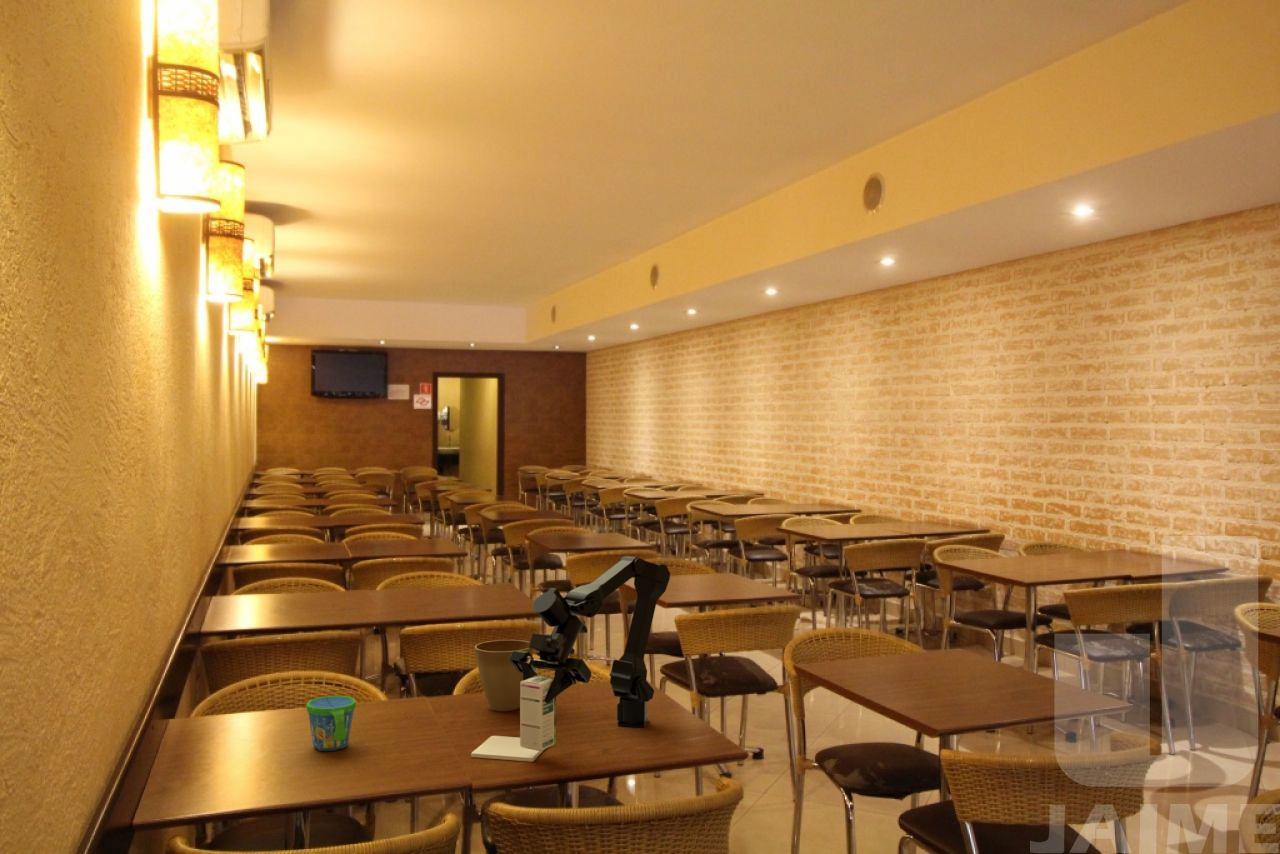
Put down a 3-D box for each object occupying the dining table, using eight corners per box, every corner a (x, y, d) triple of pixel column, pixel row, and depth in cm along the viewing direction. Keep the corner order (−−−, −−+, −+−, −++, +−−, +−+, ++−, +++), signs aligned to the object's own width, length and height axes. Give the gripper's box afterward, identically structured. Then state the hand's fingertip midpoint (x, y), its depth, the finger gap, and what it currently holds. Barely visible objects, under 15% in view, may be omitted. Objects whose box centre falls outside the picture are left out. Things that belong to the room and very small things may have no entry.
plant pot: (541, 701, 269) (541, 640, 269) (522, 717, 254) (522, 653, 254) (487, 698, 272) (487, 637, 272) (465, 713, 258) (465, 649, 258)
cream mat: (550, 743, 234) (550, 739, 234) (532, 761, 222) (532, 758, 221) (491, 739, 237) (491, 735, 237) (471, 756, 224) (471, 753, 224)
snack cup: (361, 754, 226) (361, 707, 226) (311, 760, 221) (311, 713, 221) (349, 734, 240) (349, 690, 240) (302, 740, 236) (302, 695, 236)
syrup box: (541, 751, 219) (542, 684, 219) (518, 746, 222) (519, 680, 222) (556, 744, 224) (557, 678, 224) (534, 739, 227) (535, 674, 227)
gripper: (513, 614, 231) (483, 674, 221) (583, 622, 222) (555, 685, 212) (534, 642, 238) (505, 701, 228) (603, 651, 229) (576, 713, 219)
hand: (534, 700), depth 222 cm, fingers closed on syrup box, 6 cm apart
